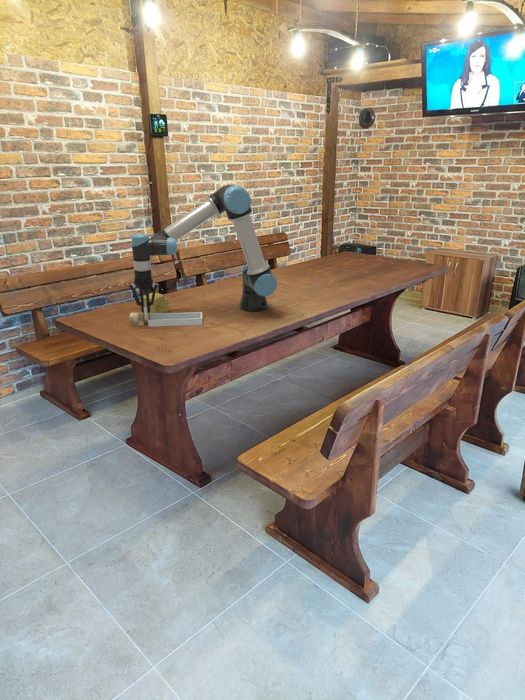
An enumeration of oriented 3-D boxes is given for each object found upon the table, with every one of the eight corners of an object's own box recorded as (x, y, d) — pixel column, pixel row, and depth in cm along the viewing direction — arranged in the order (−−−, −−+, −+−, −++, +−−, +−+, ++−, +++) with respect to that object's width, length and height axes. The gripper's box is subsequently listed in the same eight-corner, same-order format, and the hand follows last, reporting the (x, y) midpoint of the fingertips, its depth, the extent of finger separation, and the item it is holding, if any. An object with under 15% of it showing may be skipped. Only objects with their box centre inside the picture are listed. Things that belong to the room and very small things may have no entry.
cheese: (169, 313, 250) (168, 294, 246) (155, 319, 241) (154, 299, 237) (154, 310, 255) (153, 291, 251) (139, 315, 246) (138, 296, 242)
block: (144, 312, 231) (131, 312, 230) (142, 316, 226) (129, 316, 225) (145, 324, 233) (132, 324, 233) (143, 328, 228) (130, 328, 227)
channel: (202, 320, 239) (202, 312, 237) (202, 327, 229) (202, 318, 227) (150, 322, 236) (149, 313, 234) (148, 329, 226) (147, 320, 224)
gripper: (157, 267, 225) (161, 316, 234) (128, 267, 224) (133, 317, 232) (156, 270, 218) (160, 321, 227) (126, 271, 217) (131, 322, 225)
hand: (146, 319), depth 230 cm, fingers closed
